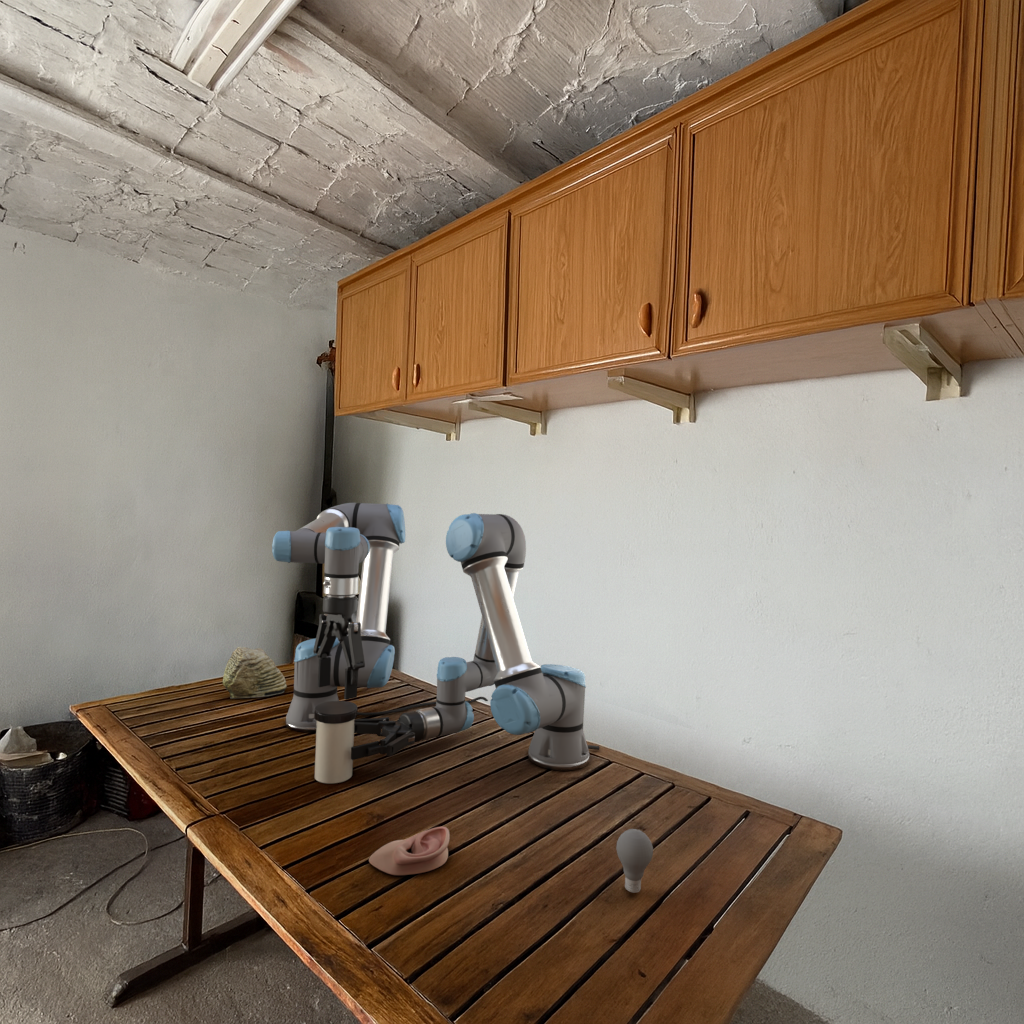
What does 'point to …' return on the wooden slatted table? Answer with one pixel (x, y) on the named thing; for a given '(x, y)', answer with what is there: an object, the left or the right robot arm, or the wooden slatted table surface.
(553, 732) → the right robot arm
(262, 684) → the fossil
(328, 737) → the jar
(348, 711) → the lid
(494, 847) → the wooden slatted table surface
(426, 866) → the anatomical model
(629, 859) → the light bulb
